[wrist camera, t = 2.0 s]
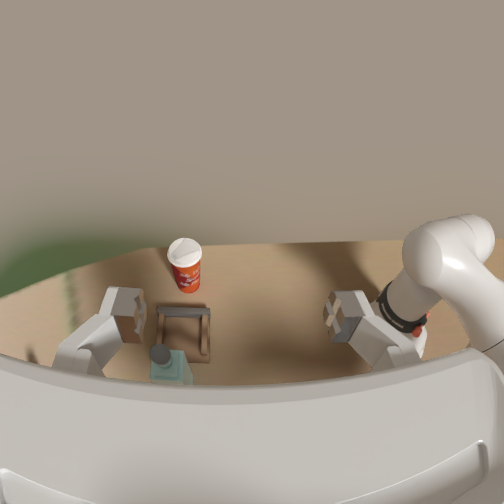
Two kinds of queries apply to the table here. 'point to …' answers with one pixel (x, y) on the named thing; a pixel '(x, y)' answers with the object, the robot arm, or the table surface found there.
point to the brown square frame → (185, 331)
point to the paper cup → (185, 263)
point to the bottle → (169, 366)
